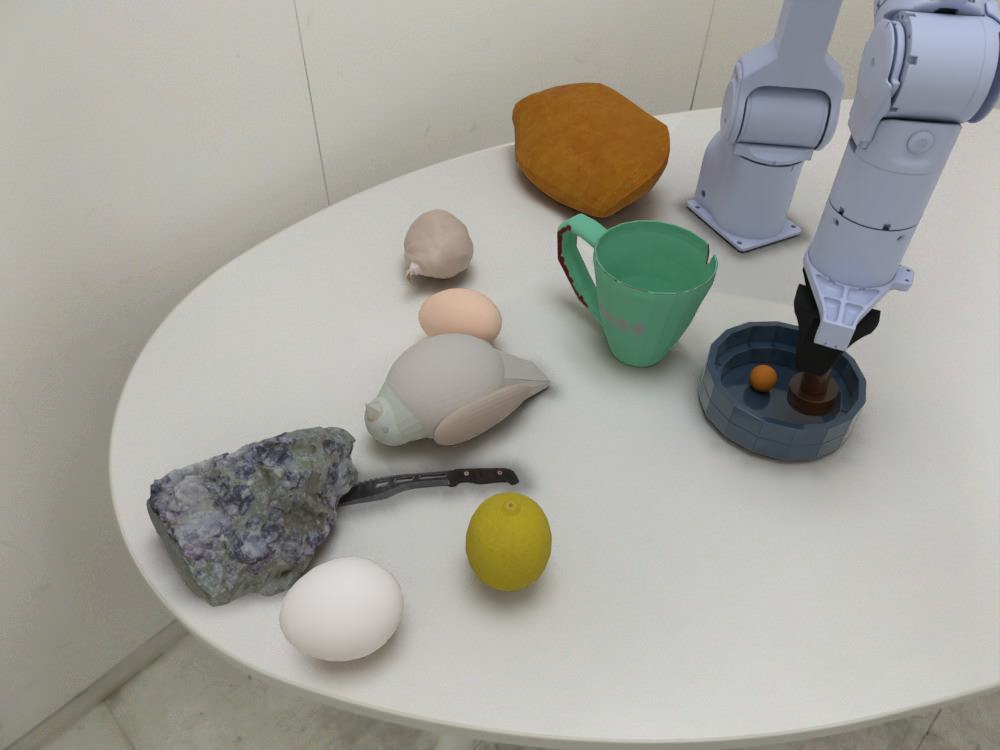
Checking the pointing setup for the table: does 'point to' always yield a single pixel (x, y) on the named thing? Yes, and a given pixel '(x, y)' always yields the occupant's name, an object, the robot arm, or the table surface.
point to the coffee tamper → (812, 393)
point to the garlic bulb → (437, 246)
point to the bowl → (774, 394)
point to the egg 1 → (342, 609)
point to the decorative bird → (450, 391)
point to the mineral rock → (253, 512)
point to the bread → (589, 147)
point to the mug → (638, 282)
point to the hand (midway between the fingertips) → (812, 359)
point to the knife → (423, 483)
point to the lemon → (508, 541)
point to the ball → (763, 378)
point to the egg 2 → (460, 314)
